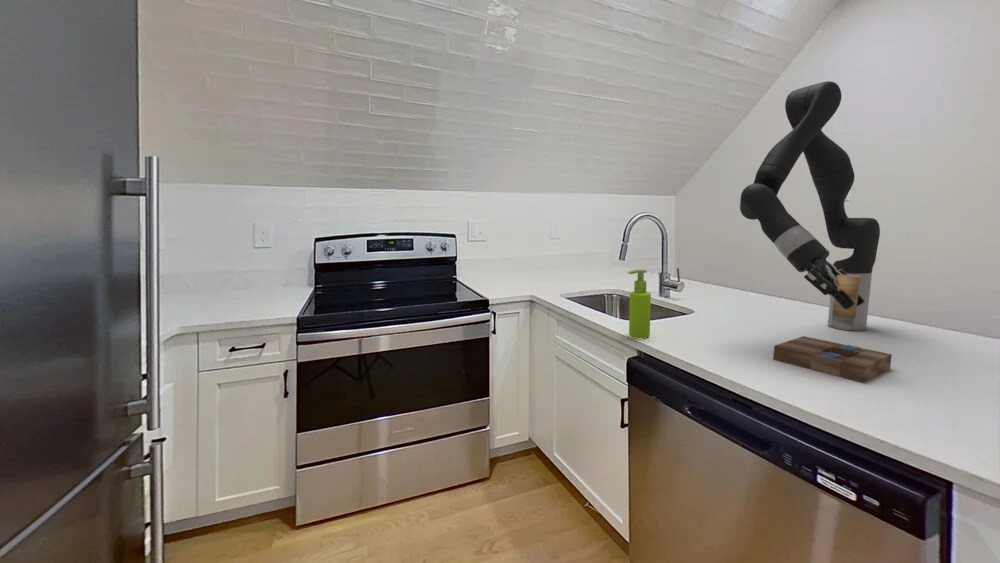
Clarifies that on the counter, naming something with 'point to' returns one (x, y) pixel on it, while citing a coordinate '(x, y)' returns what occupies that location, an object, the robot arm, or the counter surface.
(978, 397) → the counter surface
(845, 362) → the board
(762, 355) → the counter surface
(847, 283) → the upright wooden block
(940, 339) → the counter surface
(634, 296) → the soap dispenser
